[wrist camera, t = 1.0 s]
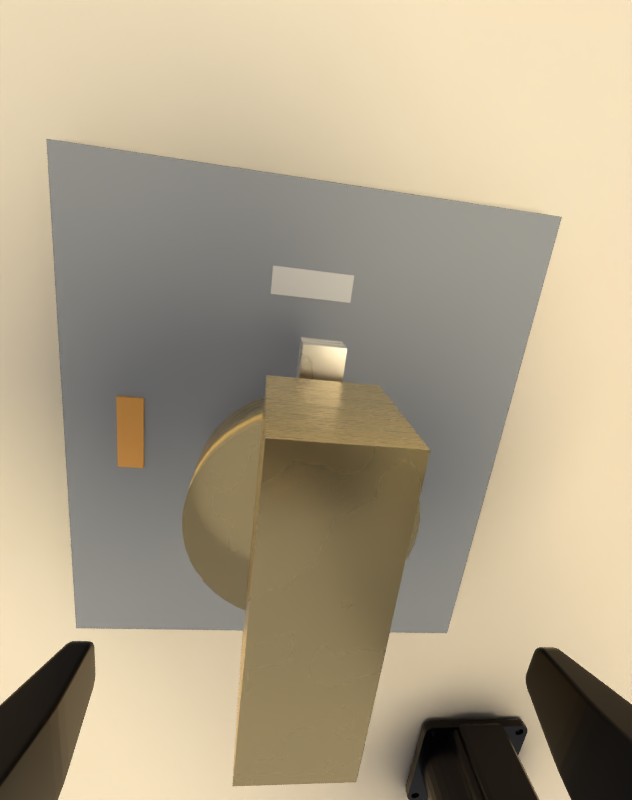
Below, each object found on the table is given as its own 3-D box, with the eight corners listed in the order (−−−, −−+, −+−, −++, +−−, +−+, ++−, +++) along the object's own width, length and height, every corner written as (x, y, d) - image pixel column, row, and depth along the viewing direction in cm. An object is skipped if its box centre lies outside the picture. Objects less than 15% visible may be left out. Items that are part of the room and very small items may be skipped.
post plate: (438, 614, 24) (474, 693, 20) (86, 607, 22) (41, 696, 17) (543, 218, 18) (629, 210, 13) (63, 146, 15) (-16, 108, 11)
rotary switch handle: (377, 596, 17) (433, 779, 11) (189, 592, 16) (144, 788, 10) (428, 346, 14) (543, 418, 8) (200, 322, 13) (145, 383, 7)
